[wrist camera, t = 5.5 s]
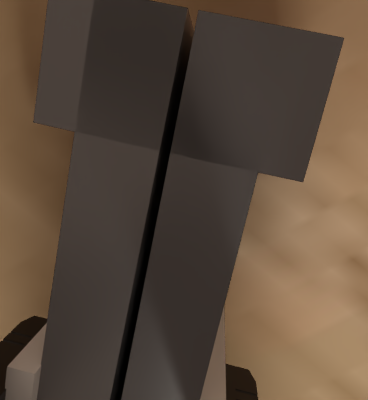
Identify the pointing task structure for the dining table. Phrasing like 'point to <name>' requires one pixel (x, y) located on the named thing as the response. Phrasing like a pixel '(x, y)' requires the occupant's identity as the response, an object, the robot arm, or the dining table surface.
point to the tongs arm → (106, 177)
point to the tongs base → (221, 184)
